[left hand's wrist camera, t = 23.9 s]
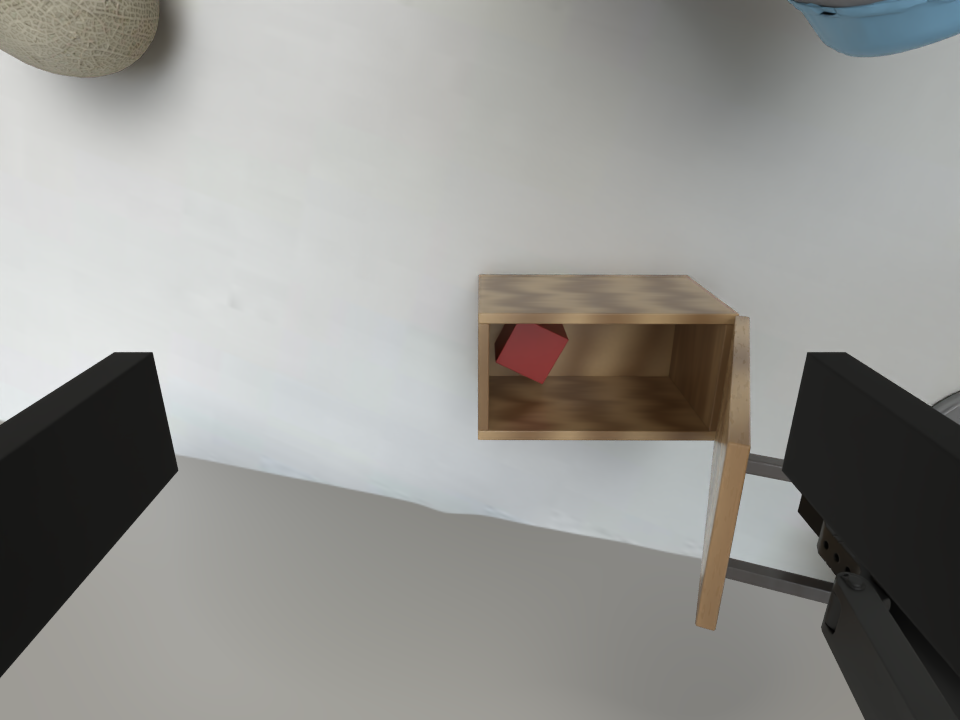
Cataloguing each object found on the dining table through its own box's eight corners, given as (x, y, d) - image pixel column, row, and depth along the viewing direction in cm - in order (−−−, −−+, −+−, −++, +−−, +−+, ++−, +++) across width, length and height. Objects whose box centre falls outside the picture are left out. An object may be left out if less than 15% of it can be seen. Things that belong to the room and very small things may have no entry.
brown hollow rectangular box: (478, 380, 54) (478, 440, 44) (478, 274, 50) (478, 313, 40) (673, 380, 54) (718, 440, 44) (687, 275, 50) (739, 313, 40)
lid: (694, 626, 28) (909, 687, 25) (727, 442, 24) (983, 488, 21) (714, 443, 43) (846, 466, 40) (735, 315, 40) (882, 331, 37)
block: (494, 343, 52) (495, 362, 48) (517, 300, 50) (520, 316, 46) (537, 364, 52) (542, 384, 48) (562, 322, 51) (569, 339, 47)
